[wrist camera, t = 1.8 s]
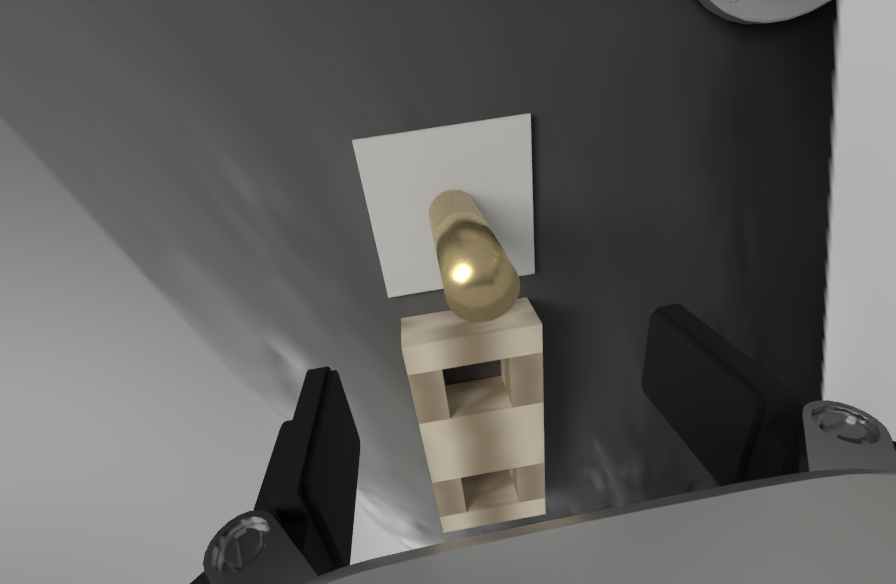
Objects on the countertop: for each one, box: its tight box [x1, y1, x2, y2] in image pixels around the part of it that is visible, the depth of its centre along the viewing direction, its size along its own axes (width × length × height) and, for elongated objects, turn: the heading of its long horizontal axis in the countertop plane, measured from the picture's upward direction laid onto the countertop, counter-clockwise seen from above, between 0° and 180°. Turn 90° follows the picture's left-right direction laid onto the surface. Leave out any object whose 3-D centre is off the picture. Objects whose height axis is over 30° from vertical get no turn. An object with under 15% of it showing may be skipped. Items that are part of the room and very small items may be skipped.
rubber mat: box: [352, 113, 535, 298], centre depth 25 cm, size 10×10×1 cm
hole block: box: [401, 297, 545, 533], centre depth 32 cm, size 9×20×4 cm, turn 8°
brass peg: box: [429, 190, 520, 322], centre depth 20 cm, size 3×3×10 cm
